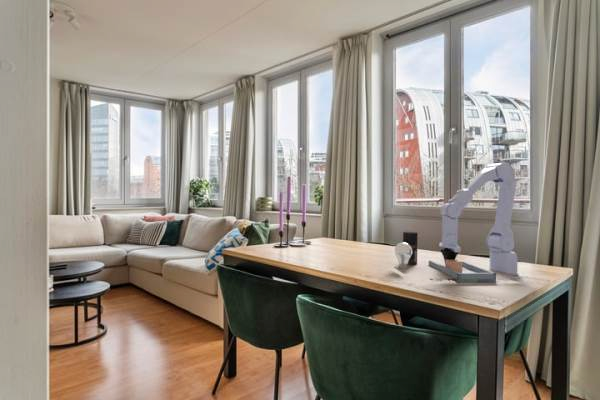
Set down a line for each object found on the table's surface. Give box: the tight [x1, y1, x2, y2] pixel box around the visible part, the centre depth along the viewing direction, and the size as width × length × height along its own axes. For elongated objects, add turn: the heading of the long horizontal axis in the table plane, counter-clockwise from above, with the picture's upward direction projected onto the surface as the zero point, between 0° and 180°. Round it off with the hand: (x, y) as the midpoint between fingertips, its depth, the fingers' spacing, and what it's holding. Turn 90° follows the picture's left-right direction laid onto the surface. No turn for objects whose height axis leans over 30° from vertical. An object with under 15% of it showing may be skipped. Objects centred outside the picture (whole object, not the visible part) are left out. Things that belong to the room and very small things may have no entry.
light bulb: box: [394, 241, 412, 270], centre depth 153 cm, size 7×7×12 cm
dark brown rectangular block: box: [402, 231, 419, 266], centre depth 162 cm, size 6×6×15 cm
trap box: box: [428, 259, 497, 284], centre depth 147 cm, size 14×26×4 cm, turn 3°
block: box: [444, 259, 463, 273], centre depth 145 cm, size 4×4×4 cm
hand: (449, 267), depth 149 cm, fingers closed
